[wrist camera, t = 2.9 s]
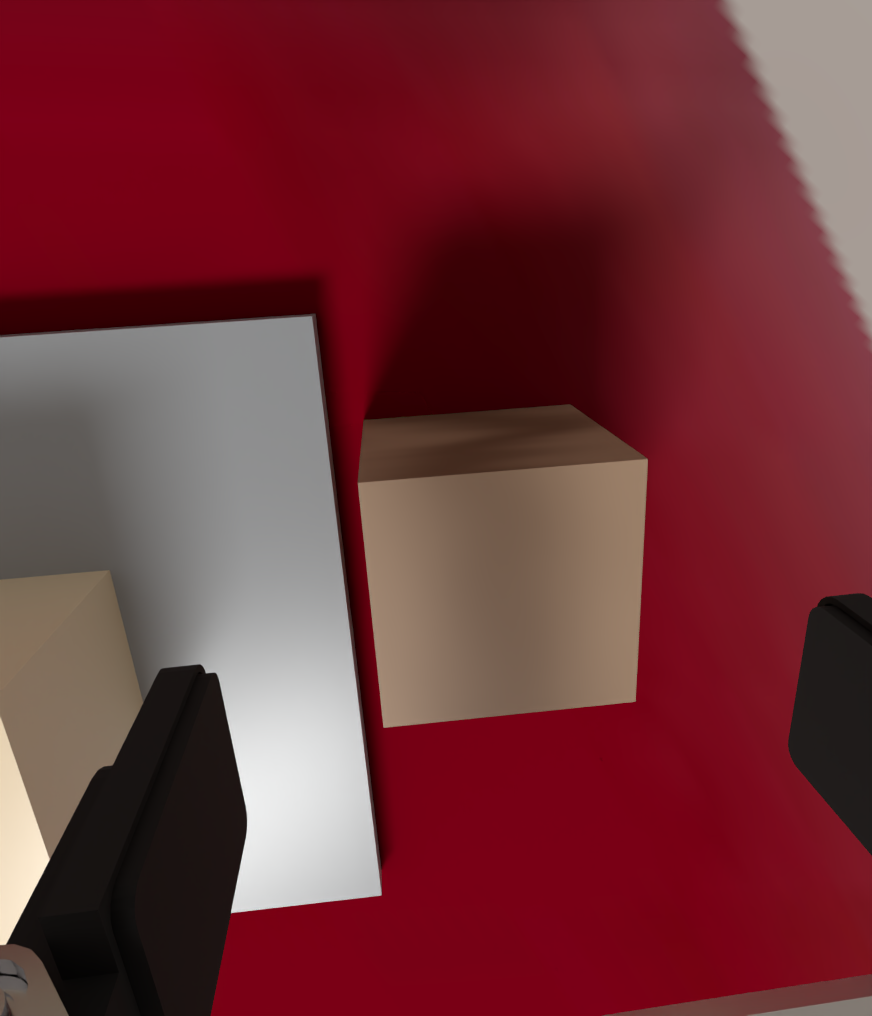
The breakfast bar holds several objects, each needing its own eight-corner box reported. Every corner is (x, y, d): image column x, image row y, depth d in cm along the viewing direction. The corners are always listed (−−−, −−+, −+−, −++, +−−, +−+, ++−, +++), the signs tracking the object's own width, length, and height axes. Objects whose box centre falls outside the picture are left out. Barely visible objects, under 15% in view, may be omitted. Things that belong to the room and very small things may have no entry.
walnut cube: (569, 403, 19) (647, 458, 14) (567, 588, 21) (635, 701, 16) (363, 419, 19) (357, 482, 13) (382, 605, 21) (383, 727, 15)
